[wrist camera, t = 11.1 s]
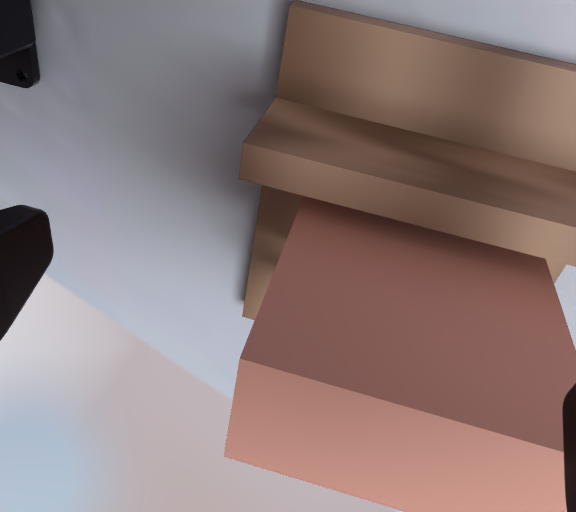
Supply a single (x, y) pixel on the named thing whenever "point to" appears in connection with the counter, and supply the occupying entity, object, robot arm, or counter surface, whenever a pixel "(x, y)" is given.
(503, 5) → the counter surface
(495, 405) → the pink rectangular block
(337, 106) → the book rack
